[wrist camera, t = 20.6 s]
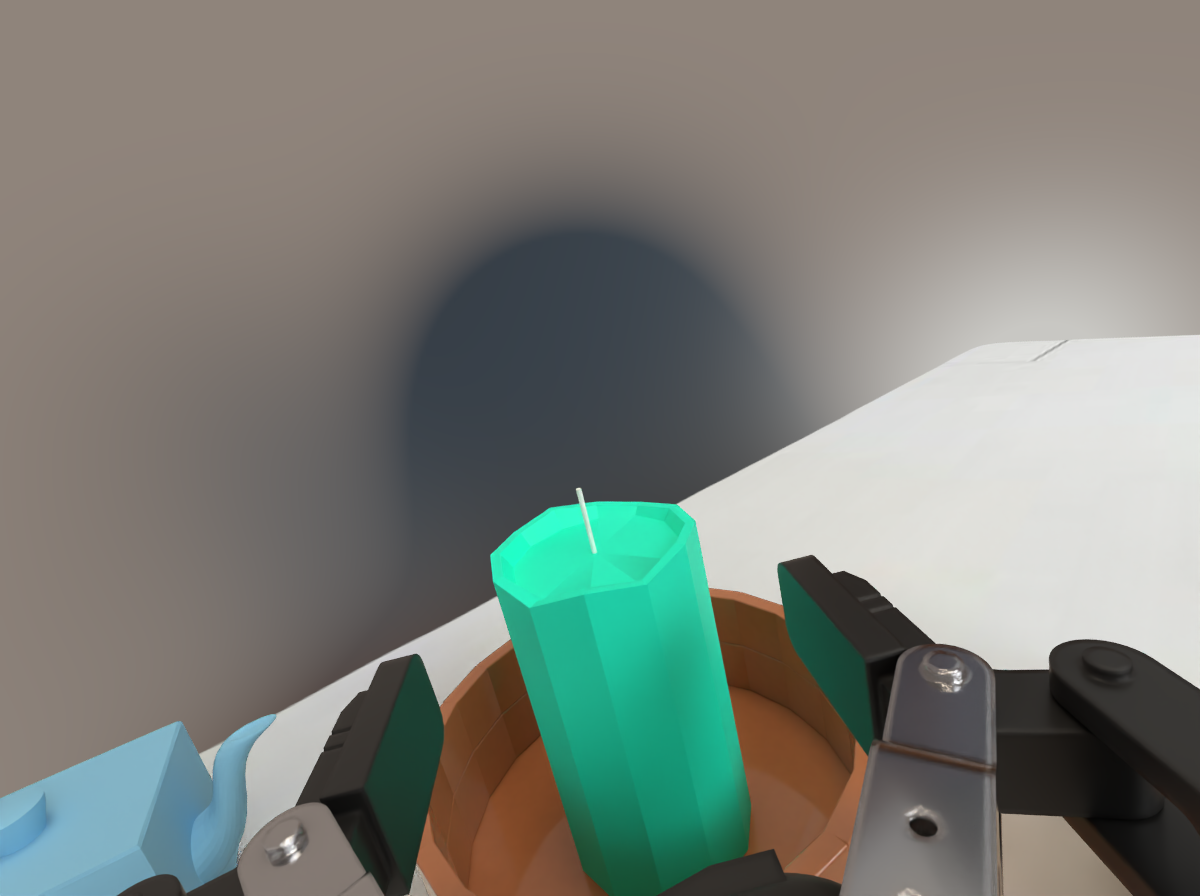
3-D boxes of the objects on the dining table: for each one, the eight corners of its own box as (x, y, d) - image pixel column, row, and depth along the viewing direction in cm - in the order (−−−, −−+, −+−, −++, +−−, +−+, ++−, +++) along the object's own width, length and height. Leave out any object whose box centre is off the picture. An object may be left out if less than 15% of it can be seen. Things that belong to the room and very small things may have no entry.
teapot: (339, 804, 24) (270, 651, 22) (349, 934, 19) (260, 748, 17) (-35, 1004, 19) (-166, 834, 17) (-163, 1252, 14) (-374, 1049, 12)
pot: (958, 1209, 11) (941, 1034, 10) (358, 1040, 16) (291, 908, 15) (865, 685, 24) (852, 578, 22) (548, 680, 29) (522, 592, 27)
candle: (548, 804, 21) (450, 502, 18) (682, 721, 23) (618, 440, 20) (630, 958, 16) (513, 567, 12) (793, 831, 18) (731, 472, 15)
